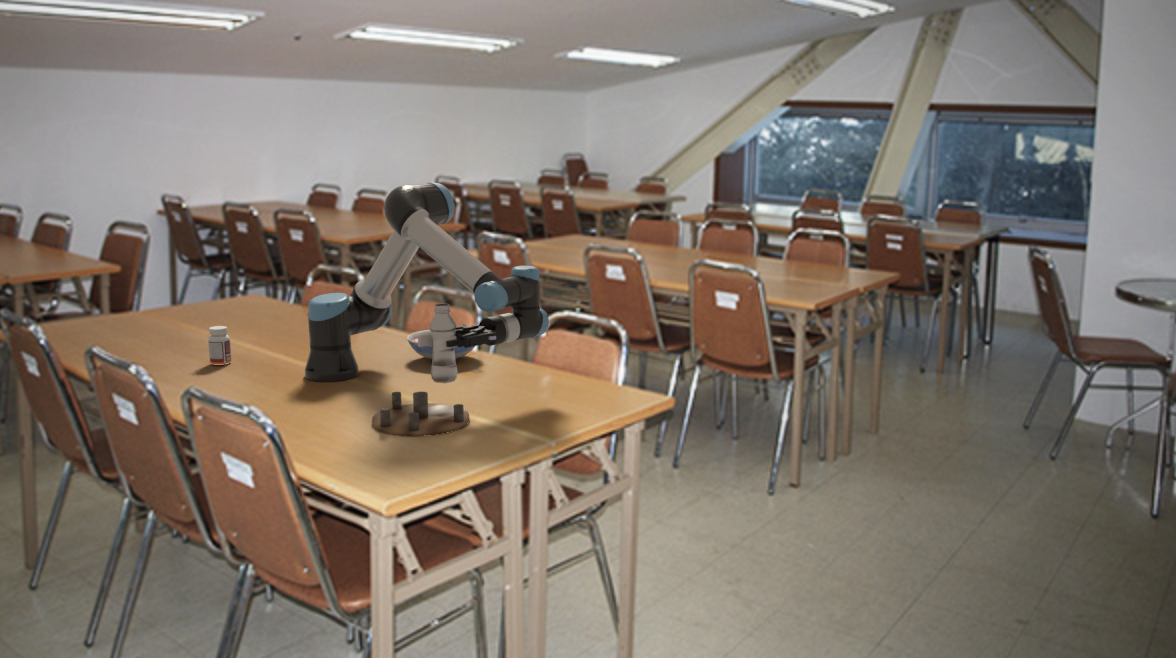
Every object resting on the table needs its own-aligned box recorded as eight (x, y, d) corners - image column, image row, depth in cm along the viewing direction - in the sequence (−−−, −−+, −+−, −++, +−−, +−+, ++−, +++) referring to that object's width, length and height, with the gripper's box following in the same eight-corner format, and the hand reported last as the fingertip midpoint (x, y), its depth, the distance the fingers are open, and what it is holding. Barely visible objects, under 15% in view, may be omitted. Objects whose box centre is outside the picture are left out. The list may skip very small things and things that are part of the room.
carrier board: (362, 436, 244) (361, 407, 242) (382, 407, 267) (381, 380, 266) (463, 436, 244) (462, 407, 242) (474, 407, 267) (473, 381, 266)
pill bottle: (227, 360, 316) (224, 324, 313) (234, 364, 311) (232, 327, 309) (207, 363, 312) (204, 327, 309) (214, 367, 307) (211, 330, 305)
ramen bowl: (398, 353, 325) (397, 328, 323) (468, 347, 334) (467, 323, 332) (418, 372, 303) (417, 345, 301) (491, 365, 311) (491, 338, 310)
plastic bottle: (431, 379, 262) (429, 302, 258) (458, 379, 263) (456, 302, 258) (430, 386, 256) (427, 307, 252) (457, 385, 256) (454, 307, 252)
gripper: (522, 349, 264) (450, 365, 247) (476, 337, 276) (404, 351, 260) (521, 320, 262) (449, 334, 246) (475, 310, 275) (403, 323, 259)
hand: (426, 343), depth 253 cm, fingers closed on plastic bottle, 6 cm apart
